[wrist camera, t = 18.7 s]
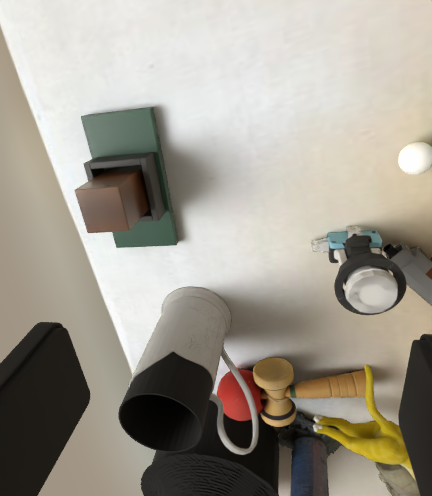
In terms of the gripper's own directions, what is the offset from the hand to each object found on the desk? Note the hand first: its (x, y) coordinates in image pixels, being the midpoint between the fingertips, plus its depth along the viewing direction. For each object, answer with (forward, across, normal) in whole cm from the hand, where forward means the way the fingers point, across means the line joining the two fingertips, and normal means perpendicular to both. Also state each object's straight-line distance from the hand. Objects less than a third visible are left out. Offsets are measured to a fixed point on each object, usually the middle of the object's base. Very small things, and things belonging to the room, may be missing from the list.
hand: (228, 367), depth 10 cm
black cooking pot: (+27, +9, +43) cm, 51 cm away
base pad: (+28, +14, +3) cm, 31 cm away
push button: (+28, -7, +10) cm, 30 cm away
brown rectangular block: (+26, +14, +3) cm, 30 cm away
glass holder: (+27, +7, +22) cm, 36 cm away
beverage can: (+27, -5, +39) cm, 48 cm away
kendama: (+27, -2, +29) cm, 40 cm away
